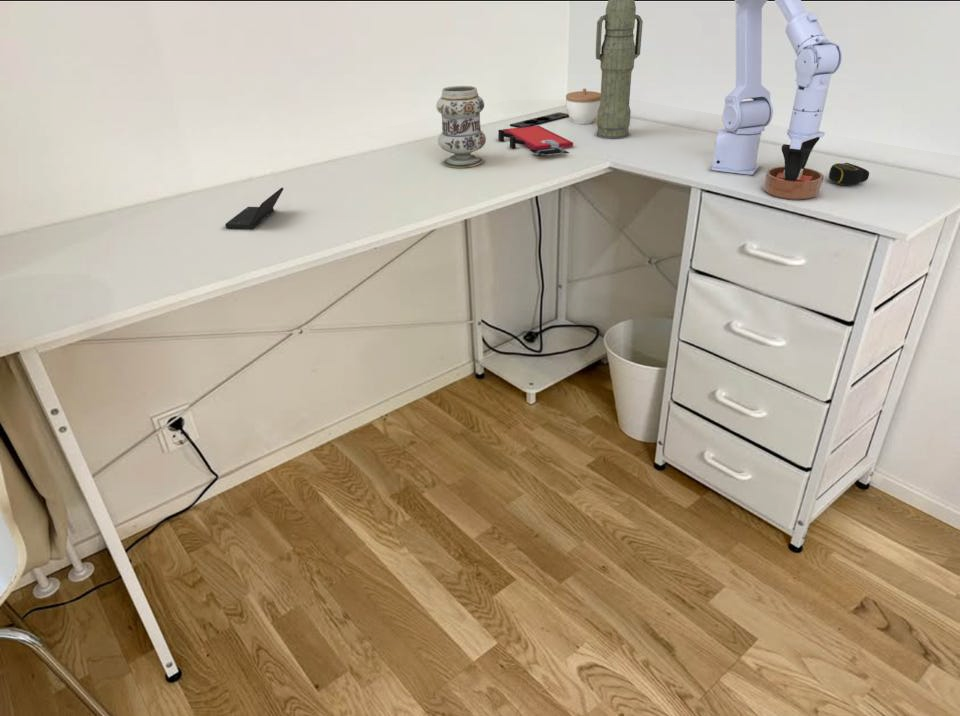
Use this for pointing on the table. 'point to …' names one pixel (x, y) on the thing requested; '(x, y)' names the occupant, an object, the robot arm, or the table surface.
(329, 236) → the table surface
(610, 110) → the green vase
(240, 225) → the handheld gaming console
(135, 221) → the table surface
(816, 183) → the bowl
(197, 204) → the table surface
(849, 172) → the tape measure
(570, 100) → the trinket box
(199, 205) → the table surface
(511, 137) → the red board with handle
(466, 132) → the apothecary jar
